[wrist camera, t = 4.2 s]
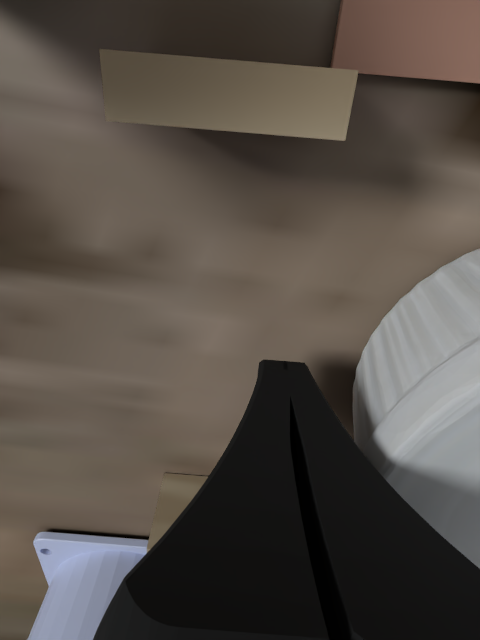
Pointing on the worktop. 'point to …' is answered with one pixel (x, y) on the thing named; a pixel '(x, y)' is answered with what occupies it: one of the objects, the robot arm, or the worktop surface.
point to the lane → (289, 100)
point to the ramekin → (428, 401)
